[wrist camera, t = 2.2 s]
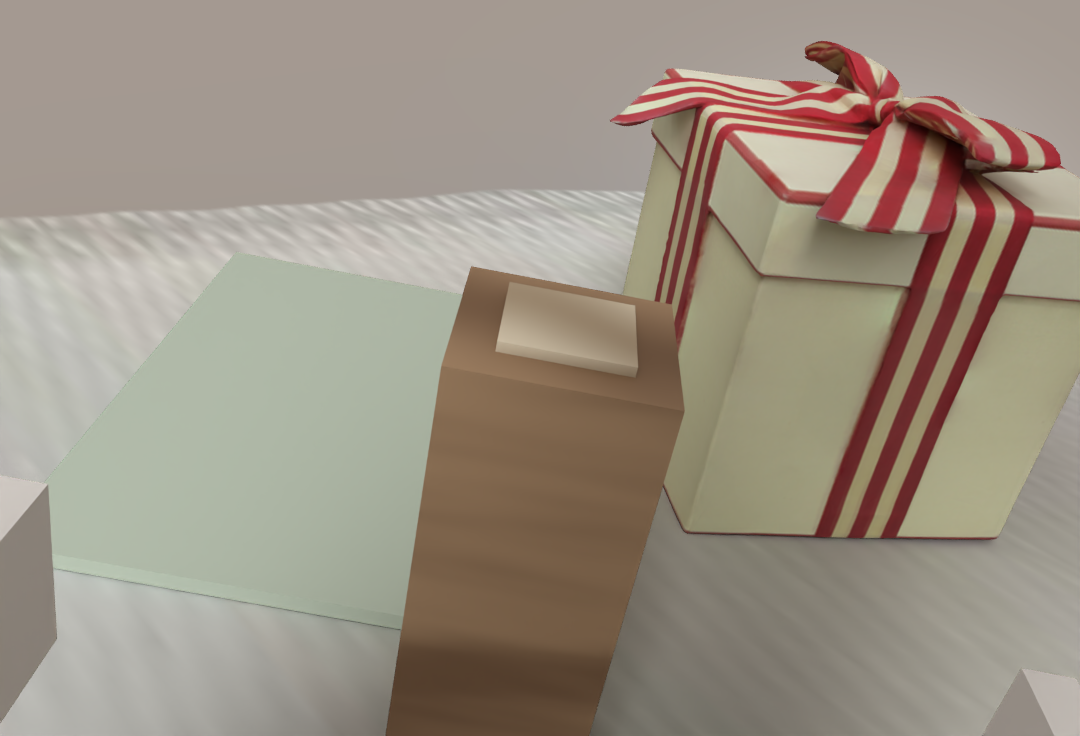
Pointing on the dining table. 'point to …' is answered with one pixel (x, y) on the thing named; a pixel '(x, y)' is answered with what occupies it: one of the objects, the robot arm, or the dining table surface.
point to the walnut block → (534, 506)
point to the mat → (267, 446)
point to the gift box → (854, 302)
